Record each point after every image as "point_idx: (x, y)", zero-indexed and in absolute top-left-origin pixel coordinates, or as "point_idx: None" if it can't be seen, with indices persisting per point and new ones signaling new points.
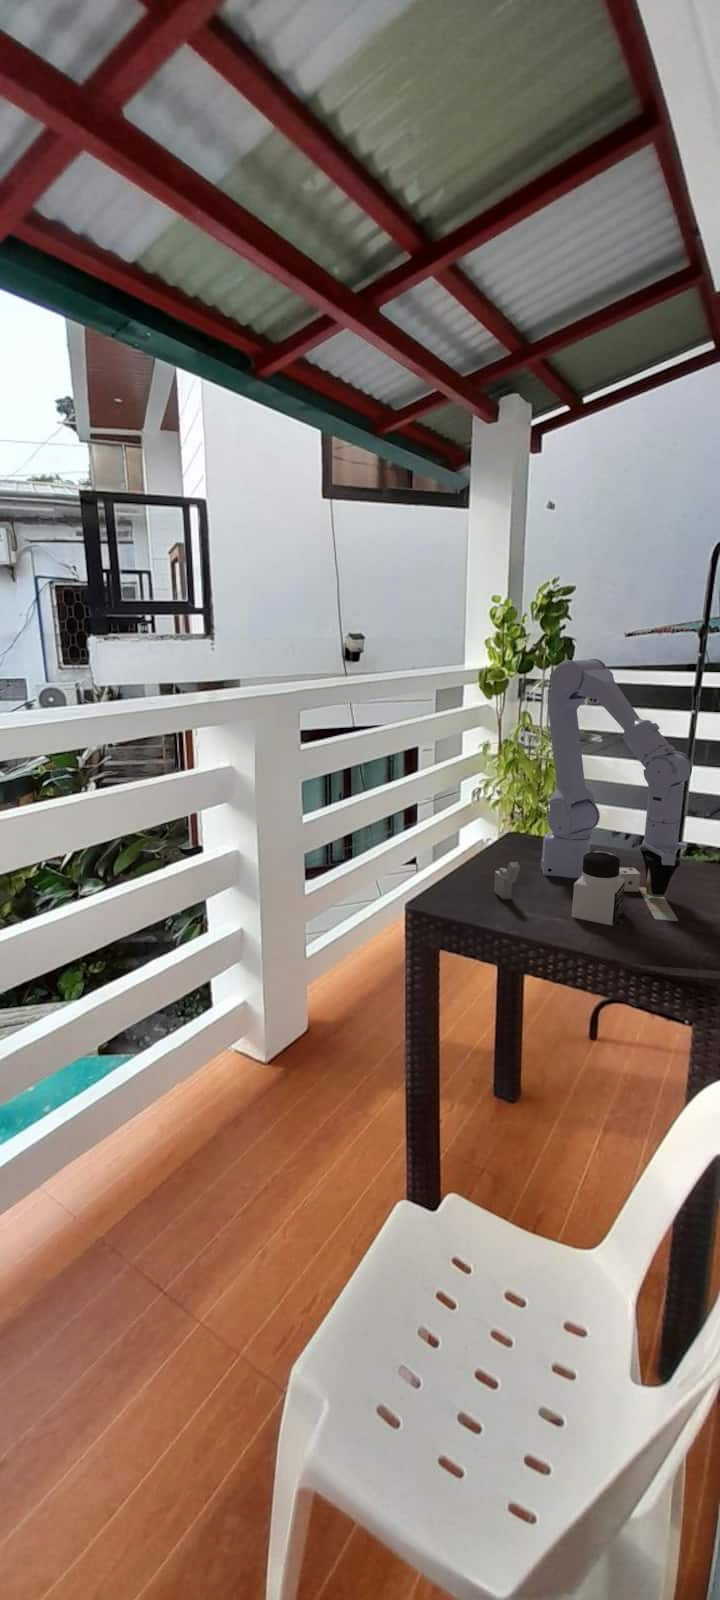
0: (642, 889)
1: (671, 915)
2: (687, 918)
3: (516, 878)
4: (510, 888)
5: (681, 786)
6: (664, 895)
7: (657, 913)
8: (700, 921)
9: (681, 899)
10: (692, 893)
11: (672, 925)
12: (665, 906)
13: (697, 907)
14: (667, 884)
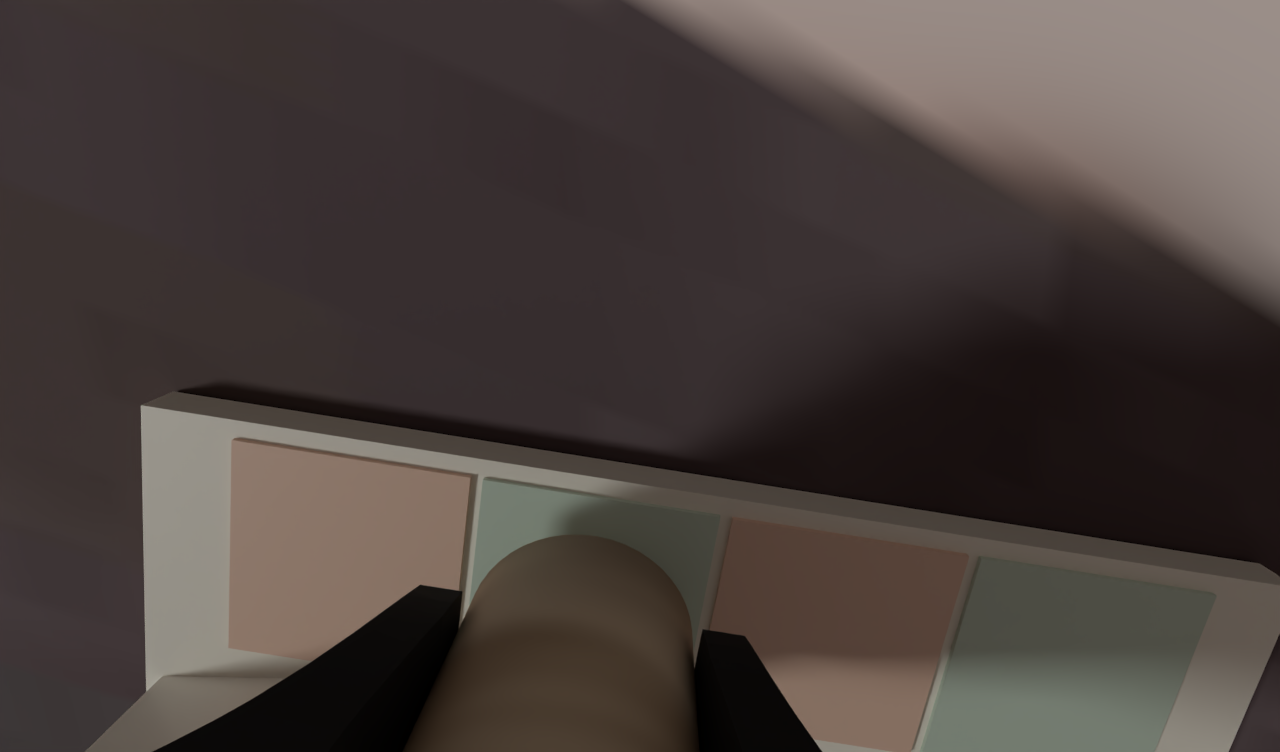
0: (302, 631)
1: (1071, 610)
2: (1005, 397)
3: None
4: None
5: None
6: (667, 580)
7: (1002, 721)
8: (1100, 291)
9: (442, 236)
10: (211, 3)
11: None
12: (814, 577)
13: (690, 146)
14: (807, 737)
